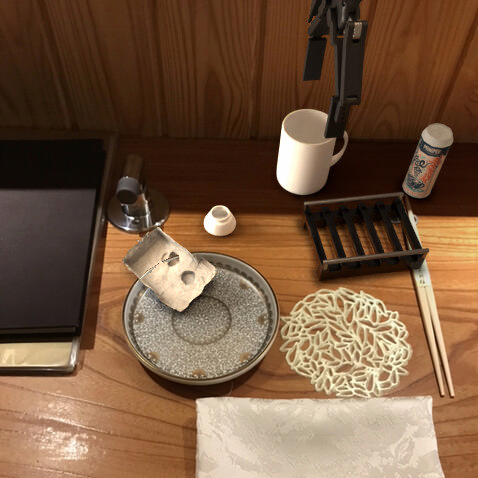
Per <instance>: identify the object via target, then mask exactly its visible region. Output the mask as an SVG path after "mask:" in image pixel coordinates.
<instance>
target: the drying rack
mask: <svg viewBox="0 0 478 478" xmlns="http://www.w3.org/2000/svg"><path fill="white" fill-rule="evenodd" d="M404 196H405V193H404V191H399V192H388V193H378V194H368V195H359V196H349V197H339V198H328V199H320V200H319V199H318V200H308V201H304V202H303V209H302V215H301V219H300V223H301V226H302V229H303V230H307V232H308V235H309V239H310V242H311V244H312V248H313V250H314V254H315V257H316V259H317V263H318V266H317V271H316V276H317V278H318V281H319V282H323V281H331V280H339V279H340V280H341V279H347V278H355V277H364V276H373V275H381V274H389V273H390V274H391V273H399V272H406V271H414V270H421V269H422V266H423V264H424V262H425V260H426V258H427V257H428V256H427V255H428V253H430V248H429V247H425V248H423V246H422V244H421V241H420V240H419V237H418V235H417V233H416V231H415V228H414V227H413V224H412V221H411V220H410V217H409V215H408V213H407V211H406V209H405V206H404V204H403V201H402V199H403V197H404ZM391 198H393V199H392V203H390V204H389V203H388V204H385V203H384V200H383V199H391ZM381 199H382V200H381ZM372 200H376V201H375V202H374V205H371V206H370V205H369V206H367V205H366V202H362V201H372ZM353 202H359V203H357V205H356V207H351V208H349V206H348V204H343V203H353ZM332 204H340V205H339V207H338V209H332V210H331V209H330V206H328V205H332ZM325 205H327V206H325ZM312 206H321V208H320V211H312V209H311V208H310V207H312ZM393 220H398V221H399V224H400V226H401V228H402V232H403V233H404V236H405V238H406V240H407V242H408V244H409V247H410V249H408V250H407V249H406V250H404V248H403V245H402V242H401V240H400V238H399V236H398V233H397V231H396V228H395V225H394V223H393ZM375 222H380V223H381V225H382V228H383V231H384V233H385V235H386V238H387V240H388V243H389V245H390V248H391V250H392V251H390V252H385V250H384V247H383V244H382V242H381V240H380V237H379V234H378V231H377V230H376V226H375V224H374V223H375ZM355 224H356V225H357V224H362V225H363V228H364V230H365V233H366V235H367V238H368V240H369V243H370V246H371V247H372V251H373V253H372V254H366V251H365V250H364V246H363V243H362V240H361V239H360V236H359V233H358V230H357V227H356V225H355ZM337 226H344V228H345V231H346V234H347V236H348V240H349V242H350V245H351V248H352V250H353V253H354V255H355V256H347V254H346V251H345V249H344V245H343V243H342V240H341V237H340V234H339V232H338V227H337ZM318 228H326V232H327V235H328V237H329V240H330V243H331V246H332V249H333V252H334V255H335V257H336V258H329V259H328V257H327V254H326V251H325V248H324V244H323V242H322V238H321V235H320V233H319V230H318Z"/></svg>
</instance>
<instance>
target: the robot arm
mask: <svg viewBox="0 0 478 478" xmlns="http://www.w3.org/2000/svg"><path fill="white" fill-rule="evenodd" d="M311 2H312V3H310V4H311V9H310V14H309V19H308V23H310V22H311V21H312V18H313V16H316V17H315V19H314V20H313V21H312V22H311V25H310V26H309V25H308V28H307V35H308V38H307V43H306V44H307V45H306V50H305V57H304V64H303V69H302V76H301V79H302V81H303V82H308V81H309V82H312V81H320V80H321V76H322V71H323V66H324V59H325V56H326V55H325V54H326V50H327V43H328V38H327V37H326V36H329V43H330V46H332V47H333V56H334V57H333V58H334V59H333V60H334V62H333V63H334V95H331V97H330V98H329V102H330V104H329V109H328V113H327V115H328V118H327V123H326V127H325V132H324V137H325V139H327V138H336V139H338V138H343V136H344V132H345V131H346V127H347V124H348V119H349V115H350V112H351V107H352V106H353V107H354V106H360V105H361V103H362V90H363V76H364V61H365V49H366V48H365V46H366V40H367V39H366V38H367V35H368V34H367V33H368V29H369V21H368V20H367V19H361V6H360V4H362V2H363V0H311Z"/></svg>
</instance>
